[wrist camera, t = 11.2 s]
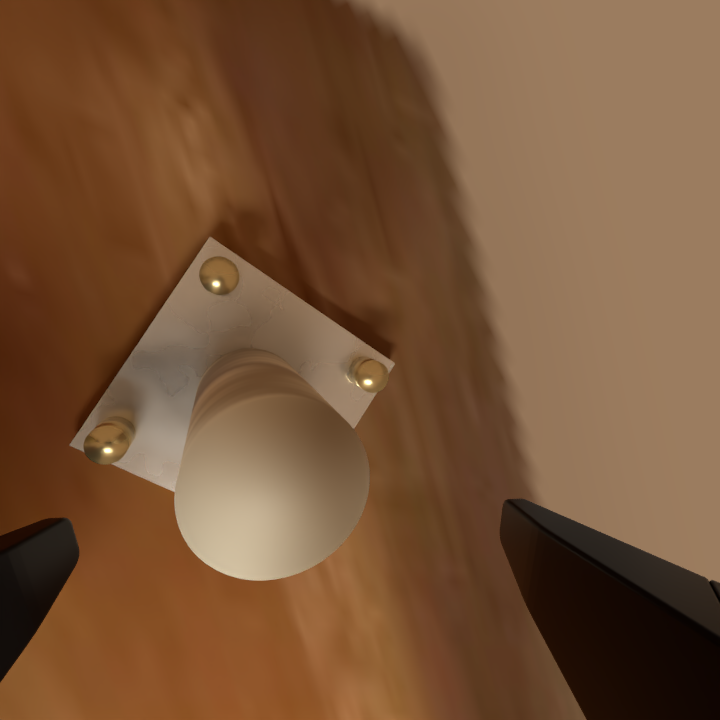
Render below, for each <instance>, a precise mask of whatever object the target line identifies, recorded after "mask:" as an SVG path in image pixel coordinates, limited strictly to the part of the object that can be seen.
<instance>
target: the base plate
mask: <svg viewBox="0 0 720 720" xmlns="http://www.w3.org/2000/svg"><path fill="white" fill-rule="evenodd" d="M248 348H254V349H262V350H266V351H269V352H272V353H274V354H276V355H278V356H280V357H281V358H282V359H284V360H285V361H286V362H287V363H288V364H289V365H290V366H291V367H292V368H293V369H294V370H295V371H296V372H297V373H298V374H299V375H301V376H302V377H303V378H304V379H305V380H306V381H307V382H308V383H309V384H310V385H311V386H312V387H313V388H314V389H315V390H316V391H317V392H318V393H319V394H320V395H321V396H322V397H323V398H324V399H325V400H326V401H327V402H328V403H329V404H330V405H331V406H332V407H333V408H334V409H335V410H336V411H337V412H338V413H339V414H340V415H341V416H342V417H343V418H344V419H345V420H346V421H347V422H348V423H349V424H350V425H351V427H352V428H353V429H354V428H355V426H356V425H357V423H358V421H359V420H360V418H361V417H362V415H363V414H364V412H365V410H366V409H367V407H368V406H369V404H370V402H371V401H372V399H373V398H374V396H375V395H376V393H377V392H379V391H381V390H382V389H383V388H384V387H385V386H386V384H387V382H388V379H389V372H390V371H391V369H392V368H393V366H394V365H395V363H394V362H392V361H391V360H389V359H388V358H386V357H385V356H383V355H382V354H380V353H379V352H378V351H376V350H375V349H373V348H372V347H370V346H369V345H367V344H366V343H364V342H363V341H362V340H360V339H359V338H357V337H356V336H354V335H353V334H351V333H350V332H348V331H347V330H346V329H344V328H343V327H341V326H340V325H338V324H337V323H335V322H334V321H332V320H331V319H329V318H328V317H327V316H325V315H324V314H322V313H321V312H319V311H318V310H316V309H315V308H313V307H312V306H311V305H309V304H308V303H306V302H305V301H303V300H302V299H300V298H299V297H297V296H296V295H295V294H293V293H292V292H290V291H289V290H287V289H286V288H284V287H283V286H281V285H280V284H278V283H277V282H276V281H274V280H273V279H271V278H270V277H268V276H267V275H265V274H264V273H262V272H261V271H260V270H258V269H257V268H255V267H254V266H252V265H251V264H249V263H248V262H246V261H245V260H244V259H242V258H241V257H239V256H238V255H236V254H235V253H233V252H232V251H230V250H229V249H227V248H226V247H225V246H223V245H222V244H220V243H219V242H217V241H216V240H214V239H213V238H211V237H209V239H208V240H207V242H206V243H205V245H204V246H203V248H202V249H201V251H200V252H199V253H198V255H197V256H196V258H195V259H194V261H193V262H192V264H191V265H190V267H189V268H188V270H187V271H186V273H185V274H184V276H183V277H182V279H181V280H180V282H179V283H178V285H177V286H176V288H175V289H174V291H173V292H172V294H171V295H170V297H169V298H168V299H167V301H166V302H165V304H164V305H163V307H162V308H161V310H160V311H159V313H158V314H157V316H156V317H155V319H154V320H153V322H152V323H151V325H150V326H149V328H148V329H147V331H146V332H145V334H144V335H143V337H142V338H141V340H140V341H139V343H138V344H137V346H136V347H135V348H134V350H133V351H132V353H131V354H130V356H129V357H128V359H127V360H126V362H125V363H124V365H123V366H122V368H121V369H120V371H119V372H118V374H117V375H116V377H115V378H114V380H113V381H112V383H111V384H110V386H109V387H108V389H107V390H106V392H105V393H104V395H103V396H102V397H101V399H100V400H99V402H98V403H97V405H96V406H95V408H94V409H93V411H92V412H91V414H90V415H89V417H88V418H87V420H86V421H85V423H84V424H83V426H82V427H81V429H80V430H79V432H78V433H77V435H76V436H75V438H74V439H73V441H72V442H71V443H70V446H72V447H74V448H76V449H79V450H81V451H83V452H85V454H86V456H87V457H88V458H89V459H90V460H92V461H93V462H95V463H98V464H112V465H115V466H117V467H119V468H121V469H124V470H126V471H128V472H130V473H133V474H135V475H137V476H140V477H142V478H144V479H146V480H149V481H151V482H153V483H155V484H158V485H160V486H162V487H164V488H167V489H169V490H171V491H173V492H175V486H176V482H177V477H178V473H179V468H180V464H181V459H182V455H183V450H184V446H185V441H186V437H187V432H188V428H189V423H190V419H191V414H192V410H193V405H194V401H195V396H196V392H197V388H198V385H199V382H200V380H201V378H202V376H203V374H204V373H205V371H206V370H207V369H208V367H209V366H210V365H211V364H212V363H213V362H215V361H216V360H217V359H218V358H220V357H222V356H223V355H225V354H228V353H230V352H232V351H236V350H240V349H248Z"/></svg>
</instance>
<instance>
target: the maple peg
mask: <svg viewBox="0 0 720 720" xmlns="http://www.w3.org/2000/svg"><path fill="white" fill-rule="evenodd" d="M369 484H370V471H369V463H368V458H367V455H366V451H365V448H364V446H363V444H362V441H361V440H360V438H359V436H358V435H357V433H356V431H355V430H354V429H353V428H352V427H351V425H350V424H349V423H348V422H347V421H346V420H345V419H344V418H343V417H342V416H341V415H340V414H339V413H338V412H337V411H336V410H335V409H334V408H333V407H332V406H331V405H330V404H329V403H328V402H327V401H326V400H325V399H324V398H323V397H322V396H321V395H320V394H319V393H318V392H317V391H316V390H315V389H314V388H313V387H312V386H311V385H310V384H309V383H308V382H307V381H306V380H305V379H304V378H303V377H302V376H301V375H299V374H298V373H297V372H296V371H295V370H294V369H293V368H292V367H291V366H290V365H289V364H288V363H287V362H286V361H285V360H284V359H282V358H281V357H280V356H278V355H276V354H274V353H272V352H269V351H266V350H262V349H254V348H248V349H240V350H236V351H232V352H230V353H228V354H225V355H223V356H222V357H220V358H218V359H217V360H216V361H215V362H213V363H212V364H211V365H210V366H209V367H208V369H207V370H206V371H205V373H204V374H203V376H202V378H201V380H200V382H199V385H198V388H197V392H196V396H195V401H194V405H193V410H192V414H191V419H190V423H189V428H188V432H187V437H186V441H185V446H184V450H183V455H182V459H181V464H180V468H179V473H178V477H177V482H176V486H175V498H174V503H175V514H176V518H177V522H178V526H179V528H180V531H181V533H182V536H183V538H184V539H185V541H186V543H187V544H188V546H189V547H190V548H191V550H192V551H193V552H194V553H195V554H196V555H197V556H198V557H199V558H200V559H201V560H202V561H203V562H205V563H206V564H207V565H209V566H210V567H212V568H214V569H215V570H217V571H219V572H222V573H224V574H226V575H229V576H233V577H236V578H240V579H247V580H273V579H279V578H284V577H289V576H292V575H295V574H297V573H300V572H303V571H305V570H307V569H309V568H311V567H313V566H315V565H316V564H318V563H320V562H321V561H323V560H324V559H325V558H327V557H328V556H329V555H331V554H332V553H333V552H334V551H335V550H336V549H337V548H338V547H340V546H341V545H342V543H343V542H344V541H345V540H346V539H347V538H348V536H349V535H350V534H351V532H352V531H353V529H354V528H355V526H356V524H357V523H358V521H359V519H360V517H361V515H362V512H363V510H364V507H365V504H366V501H367V497H368V492H369Z"/></svg>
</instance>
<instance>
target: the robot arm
mask: <svg viewBox="0 0 720 720" xmlns="http://www.w3.org/2000/svg"><path fill="white" fill-rule="evenodd" d="M500 540H501V544H502V546H503V549H504V551H505V554H506V556H507V559H508V561H509V564H510V566H511V569H512V571H513V574H514V577H515V579H516V582H517V584H518V587H519V589H520V592H521V594H522V597H523V599H524V601H525V603H526V606H527V608H528V610H529V612H530V614H531V616H532V618H533V620H534V621H535V623H536V625H537V627H538V629H539V631H540V633H541V635H542V637H543V638H544V640H545V642H546V644H547V646H548V648H549V650H550V652H551V653H552V655H553V657H554V659H555V661H556V663H557V665H558V667H559V669H560V670H561V672H562V674H563V676H564V678H565V680H566V682H567V684H568V685H569V687H570V689H571V691H572V693H573V695H574V697H575V699H576V701H577V702H578V704H579V706H580V708H581V710H582V712H583V714H584V716H585V717H586V719H587V720H720V583H719V582H716V581H713V580H711V581H710V582H709V581H708V579H706V578H705V577H703V576H700V575H698V574H696V573H694V572H691V571H689V570H687V569H684V568H682V567H680V566H677V565H675V564H673V563H670V562H668V561H666V560H663V559H661V558H659V557H656V556H654V555H652V554H650V553H647V552H645V551H643V550H640V549H638V548H636V547H633V546H631V545H629V544H626V543H624V542H622V541H620V540H617V539H615V538H612V537H610V536H608V535H606V534H603V533H601V532H599V531H597V530H594V529H592V528H590V527H587V526H585V525H583V524H580V523H578V522H576V521H574V520H571V519H569V518H566V517H564V516H562V515H559V514H557V513H555V512H553V511H550V510H548V509H546V508H544V507H541V506H539V505H537V504H534V503H532V502H530V501H527V500H525V499H507V500H505V501H504V504H503V508H502V516H501V524H500ZM78 558H79V546H78V543H77V540H76V536H75V533H74V529H73V526H72V523H71V521H70V520H69V519H67V518H48V519H44V520H41V521H38V522H36V523H33V524H30V525H28V526H25V527H22V528H20V529H17V530H15V531H12V532H9V533H7V534H4V535H1V536H0V682H1V681H2V679H3V678H4V677H5V675H6V674H7V673H8V671H9V670H10V668H11V667H12V666H13V664H14V663H15V661H16V660H17V659H18V657H19V656H20V654H21V653H22V652H23V650H24V649H25V647H26V646H27V645H28V643H29V642H30V640H31V639H32V637H33V636H34V634H35V633H36V631H37V630H38V628H39V627H40V625H41V623H42V622H43V620H44V618H45V617H46V615H47V613H48V612H49V610H50V608H51V607H52V605H53V603H54V602H55V600H56V598H57V596H58V595H59V593H60V591H61V590H62V588H63V586H64V585H65V583H66V581H67V579H68V578H69V576H70V574H71V573H72V571H73V569H74V568H75V566H76V564H77V561H78Z"/></svg>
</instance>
